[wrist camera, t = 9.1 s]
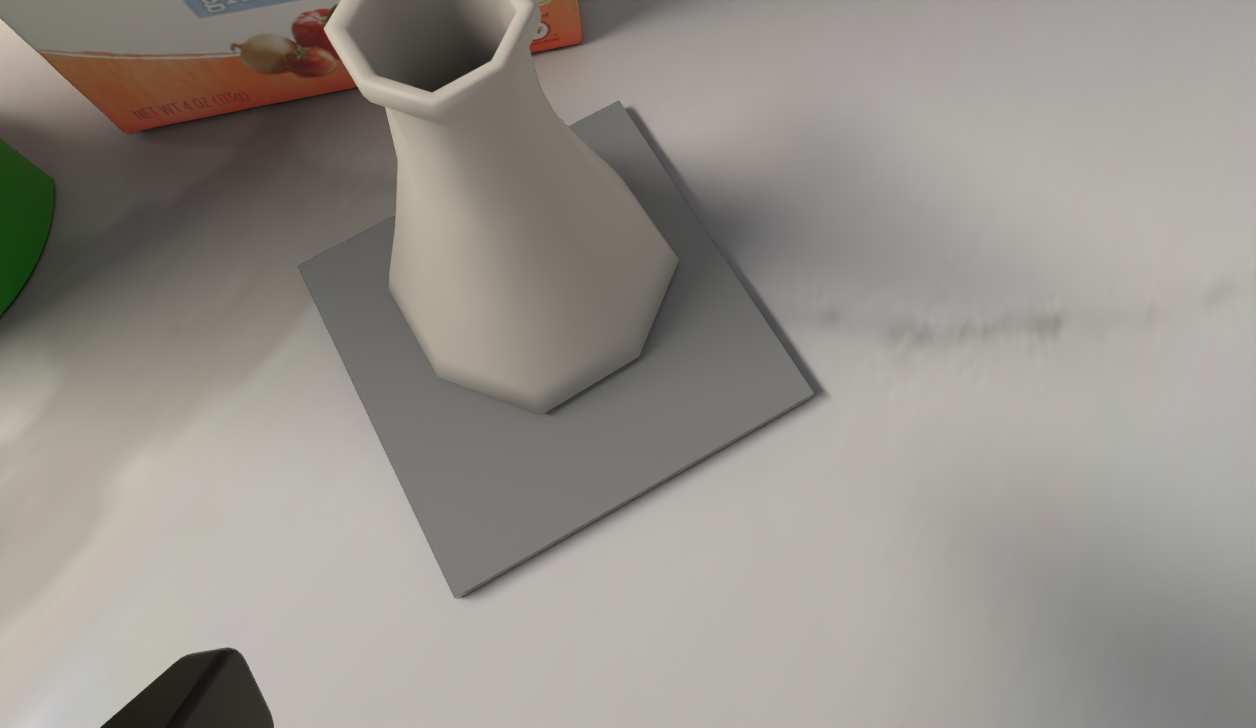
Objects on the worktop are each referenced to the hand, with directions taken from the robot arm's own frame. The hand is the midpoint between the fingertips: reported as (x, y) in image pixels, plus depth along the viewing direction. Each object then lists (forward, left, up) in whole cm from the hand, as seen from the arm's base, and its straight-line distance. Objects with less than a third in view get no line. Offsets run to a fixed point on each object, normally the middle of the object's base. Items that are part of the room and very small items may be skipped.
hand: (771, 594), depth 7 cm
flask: (+10, 0, -13) cm, 17 cm away
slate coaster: (+9, 0, -14) cm, 16 cm away
